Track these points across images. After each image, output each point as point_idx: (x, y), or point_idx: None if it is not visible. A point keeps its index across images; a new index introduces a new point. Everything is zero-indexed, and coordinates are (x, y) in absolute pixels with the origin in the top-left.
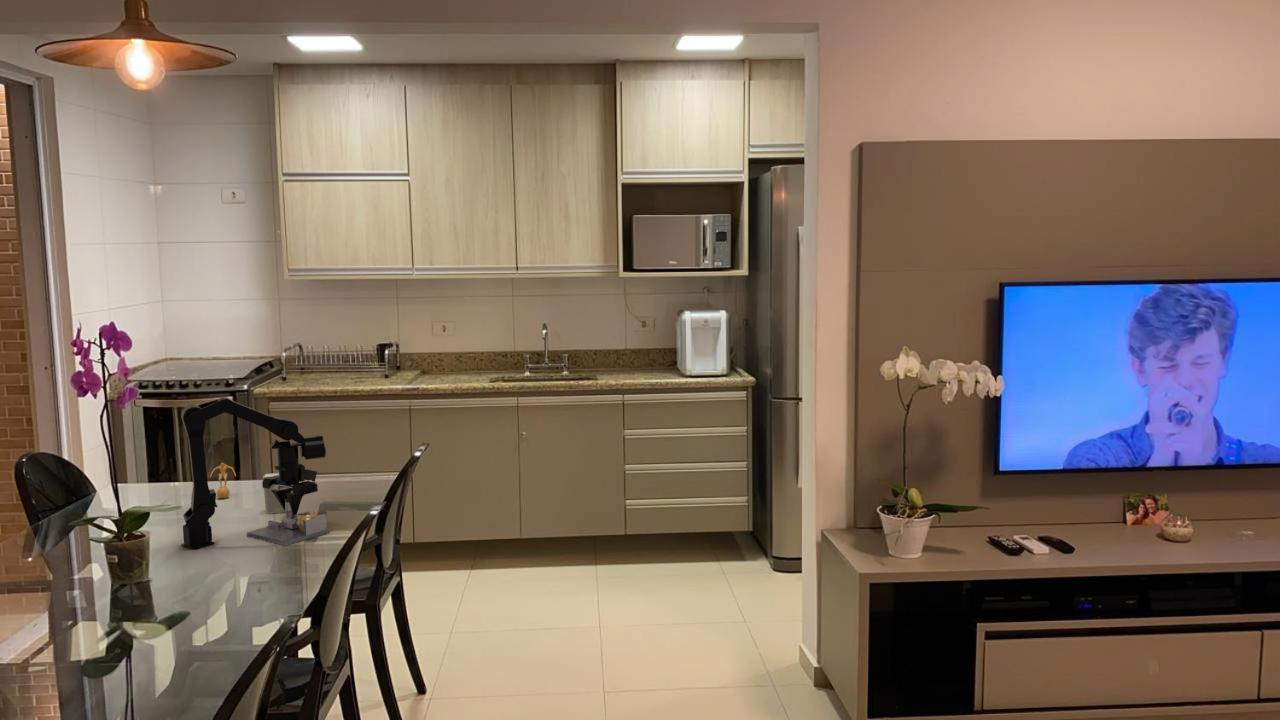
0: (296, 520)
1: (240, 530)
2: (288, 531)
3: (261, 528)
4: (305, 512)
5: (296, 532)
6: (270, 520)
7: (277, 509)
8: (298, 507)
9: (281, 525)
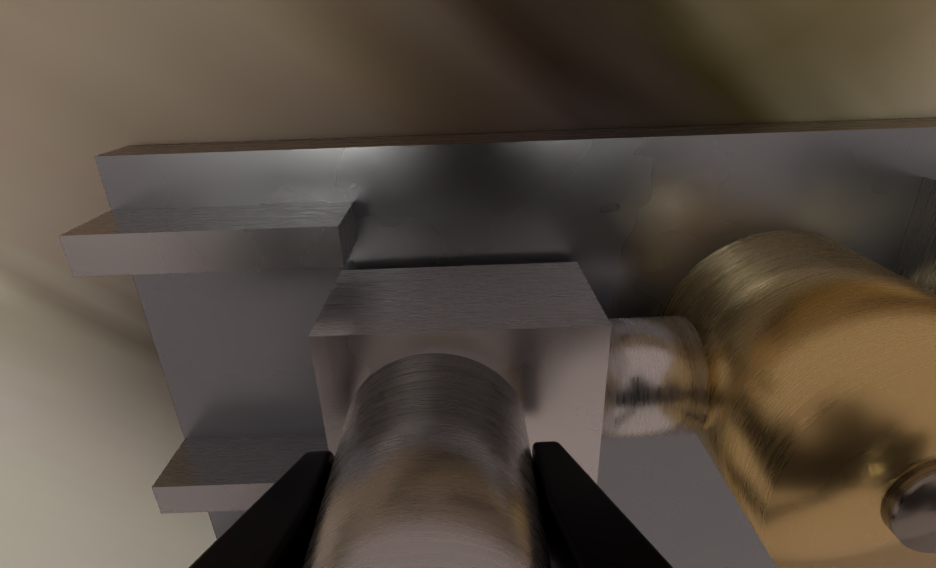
0: (612, 437)
1: (9, 550)
2: None
3: (223, 531)
4: (911, 520)
5: (693, 437)
6: (156, 488)
7: None
8: (633, 532)
9: (279, 377)
